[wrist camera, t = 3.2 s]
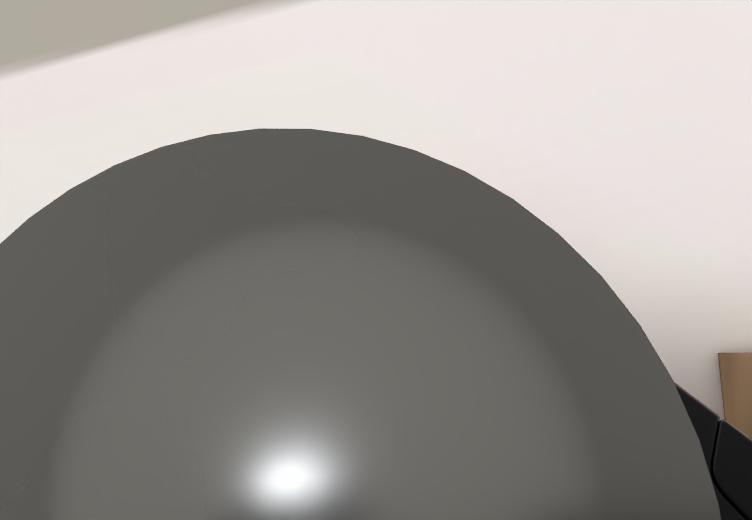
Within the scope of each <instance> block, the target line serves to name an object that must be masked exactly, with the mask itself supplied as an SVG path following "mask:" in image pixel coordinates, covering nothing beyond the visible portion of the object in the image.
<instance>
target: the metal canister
mask: <svg viewBox="0 0 752 520" xmlns="http://www.w3.org/2000/svg"><path fill="white" fill-rule="evenodd" d="M0 520H721V516H720V509H719V504H718V501H717V498H716V494H715V491H714V488H713V484H712V481H711V477H710V474H709V471H708V467H707V464H706V461H705V457H704V454H703V451H702V447H701V444H700V441H699V438H698V436H697V434H696V431H695V429H694V427H693V425H692V422H691V420H690V418H689V416H688V413H687V411H686V409H685V407H684V404H683V402H682V400H681V397H680V395H679V393H678V391H677V388H676V386H675V384H674V382H673V379H672V378H671V376H670V374H669V373H668V371H667V369H666V368H665V366H664V364H663V363H662V361H661V359H660V358H659V356H658V354H657V353H656V351H655V349H654V348H653V346H652V344H651V343H650V341H649V339H648V338H647V336H646V334H645V333H644V331H643V329H642V328H641V326H640V325H639V323H638V322H637V321H636V319H635V318H634V317H633V316H632V314H631V313H630V312H629V311H628V309H627V308H626V307H625V305H624V304H623V303H622V302H621V300H620V299H619V298H618V297H617V295H616V294H615V293H614V291H613V290H612V289H611V288H610V286H609V285H608V284H607V283H606V281H605V280H604V279H603V277H602V276H601V275H600V274H599V273H598V272H597V271H596V270H595V269H594V268H593V267H592V266H591V265H590V264H589V263H588V262H587V261H586V260H585V259H584V258H583V257H582V256H581V255H580V254H579V253H578V252H576V251H575V250H574V249H573V248H572V247H571V246H570V245H569V244H568V243H567V242H566V241H565V240H564V239H563V238H562V237H561V236H560V235H559V234H558V233H557V232H555V231H554V230H553V229H552V228H550V227H549V226H548V225H546V224H545V223H544V222H542V221H541V220H540V219H538V218H537V217H536V216H534V215H533V214H532V213H531V212H529V211H528V210H527V209H525V208H524V207H523V206H521V205H520V204H519V203H517V202H516V201H515V200H513V199H512V198H510V197H509V196H507V195H505V194H503V193H502V192H500V191H498V190H496V189H495V188H493V187H491V186H489V185H488V184H486V183H484V182H483V181H481V180H479V179H477V178H476V177H474V176H472V175H470V174H469V173H467V172H465V171H463V170H461V169H458V168H456V167H454V166H451V165H449V164H446V163H444V162H442V161H439V160H437V159H434V158H432V157H430V156H427V155H425V154H422V153H420V152H418V151H415V150H412V149H409V148H405V147H401V146H397V145H394V144H390V143H386V142H383V141H379V140H375V139H372V138H368V137H364V136H359V135H351V134H344V133H337V132H329V131H322V130H315V129H254V130H245V131H237V132H229V133H221V134H213V135H207V136H203V137H199V138H195V139H191V140H188V141H184V142H180V143H176V144H172V145H168V146H164V147H160V148H158V149H155V150H153V151H150V152H148V153H145V154H142V155H140V156H137V157H135V158H132V159H130V160H127V161H124V162H122V163H119V164H117V165H114V166H112V167H111V168H109V169H107V170H105V171H103V172H101V173H99V174H98V175H96V176H94V177H92V178H90V179H88V180H86V181H85V182H83V183H81V184H79V185H77V186H75V187H73V188H72V189H70V190H68V191H67V192H66V193H64V194H63V195H61V196H60V197H59V198H57V199H56V200H54V201H53V202H51V203H50V204H49V205H47V206H46V207H44V208H43V209H41V210H40V211H39V212H37V213H36V214H34V215H33V216H31V217H30V218H29V219H28V220H26V221H25V222H24V223H23V224H22V225H21V226H20V227H19V228H18V229H16V230H15V231H14V232H13V233H12V234H11V235H10V236H9V237H7V238H6V239H5V240H4V241H3V242H2V243H1V244H0Z"/></svg>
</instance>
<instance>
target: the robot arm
mask: <svg viewBox="0 0 752 520" xmlns="http://www.w3.org/2000/svg"><path fill="white" fill-rule="evenodd" d="M674 384H675V386H676V388H677V391H678V393H679V395H680V397H681V400H682V402H683V404H684V407H685V409H686V411H687V413H688V416H689V418H690V420H691V422H692V425H693V427H694V429H695V431H696V434H697V436H698V438H699V441H700V444H701V447H702V451H703V454H704V457H705V461H706V464H707V467H708V471H709V474H710V477H711V481H712V484H713V488H714V491H715V494H716V498H717V501H718V504H719V509H720V516H721V520H752V439H750V438H749V437H748V436H746V435H745V434H744V433H742V432H741V431H740V430H738V429H737V428H735V427H734V426H733V425H731V424H730V423H729V422H727V421H726V420H721V421H720V417H719V415H718V414H716V413H715V412H714V411H712V410H711V409H709V408H708V407H707V406H705V405H704V404H703V403H701V402H700V401H699V400H697V399H696V398H695V397H693V396H692V395H691V394H689V393H688V392H687V391H685V390H684V389H683V388H681V387H680V386H678V385H677V384H676V383H674ZM719 421H720V422H719Z"/></svg>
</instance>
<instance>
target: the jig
mask: <svg viewBox="0 0 752 520" xmlns="http://www.w3.org/2000/svg"><path fill="white" fill-rule="evenodd" d="M718 355H719V365H720V374H721V384H722V393H723V403H724V413H725V420H726V421H727V422H729V423H730V424H731V425H733V426H734V427H735V428H737V429H738V430H740V431H741V432H742V433H744V434H745V435H746V436H748V437H749V438H750V439H752V353H718Z"/></svg>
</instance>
